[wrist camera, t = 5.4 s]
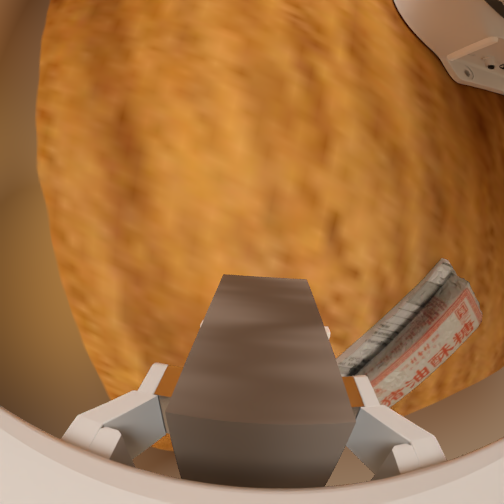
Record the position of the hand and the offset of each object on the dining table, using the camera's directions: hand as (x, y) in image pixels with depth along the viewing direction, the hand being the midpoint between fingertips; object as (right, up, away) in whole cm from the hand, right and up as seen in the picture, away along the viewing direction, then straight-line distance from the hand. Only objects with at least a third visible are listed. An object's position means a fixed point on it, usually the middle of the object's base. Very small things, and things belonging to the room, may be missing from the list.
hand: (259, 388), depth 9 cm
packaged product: (+16, -5, +19) cm, 25 cm away
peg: (0, +1, +6) cm, 6 cm away
